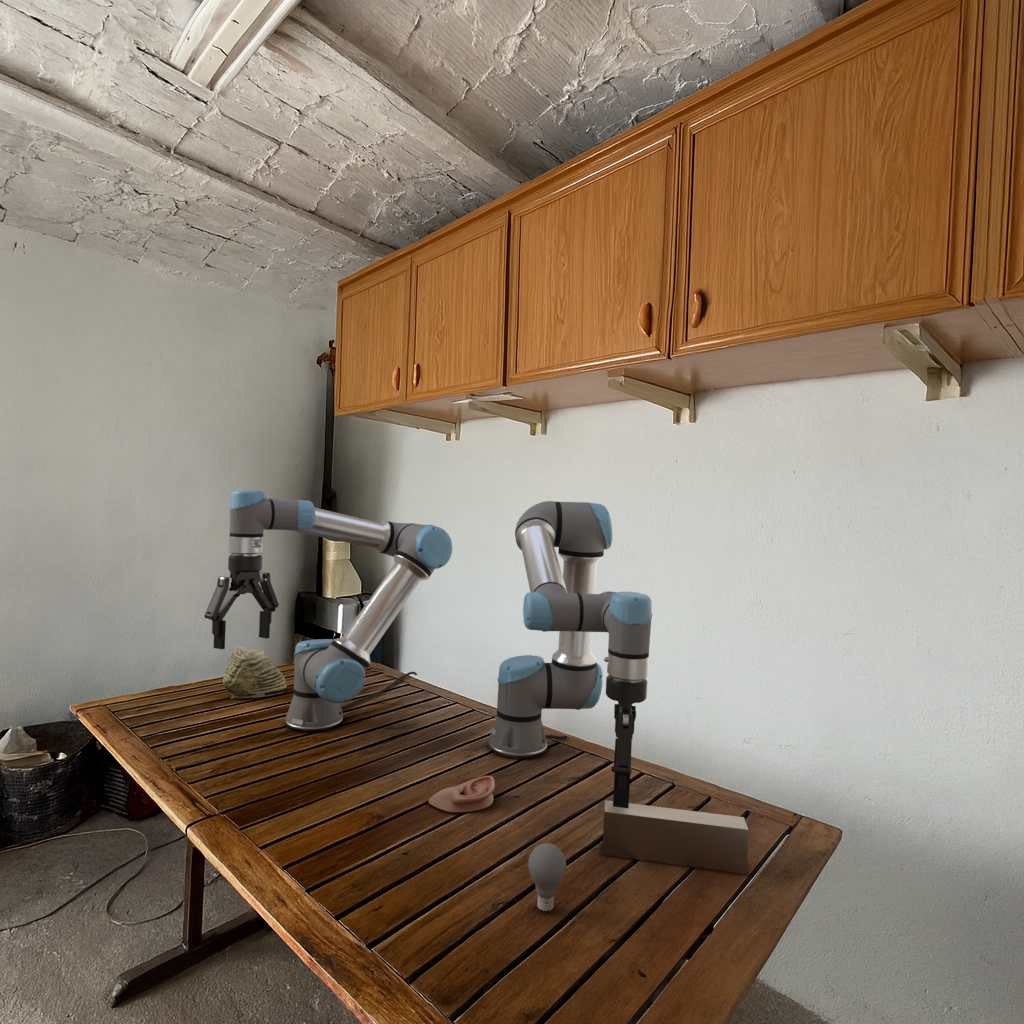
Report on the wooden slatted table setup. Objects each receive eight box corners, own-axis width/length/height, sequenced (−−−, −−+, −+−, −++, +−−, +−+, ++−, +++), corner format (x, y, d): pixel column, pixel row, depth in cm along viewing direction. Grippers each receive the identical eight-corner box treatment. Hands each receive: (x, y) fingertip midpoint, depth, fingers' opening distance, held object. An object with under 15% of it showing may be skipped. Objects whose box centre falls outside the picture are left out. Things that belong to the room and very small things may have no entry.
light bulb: (524, 896, 103) (527, 835, 103) (560, 896, 103) (563, 835, 103) (528, 921, 97) (531, 856, 97) (567, 920, 97) (570, 856, 97)
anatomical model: (423, 789, 130) (441, 766, 141) (423, 808, 130) (440, 784, 141) (486, 798, 127) (499, 774, 139) (485, 817, 128) (498, 792, 139)
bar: (741, 860, 117) (743, 817, 116) (746, 874, 112) (748, 829, 112) (602, 841, 121) (604, 800, 121) (602, 854, 116) (604, 811, 116)
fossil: (218, 695, 195) (220, 647, 195) (278, 685, 208) (279, 640, 207) (228, 703, 189) (230, 653, 188) (289, 692, 201) (290, 645, 201)
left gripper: (213, 559, 138) (210, 655, 139) (295, 552, 161) (292, 635, 162) (189, 556, 141) (185, 651, 142) (272, 550, 164) (269, 631, 165)
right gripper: (607, 656, 130) (602, 757, 131) (605, 696, 106) (598, 820, 107) (644, 660, 129) (639, 762, 130) (650, 701, 104) (643, 826, 105)
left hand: (242, 643), depth 152 cm, fingers open, 13 cm apart
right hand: (620, 788), depth 118 cm, fingers open, 13 cm apart
